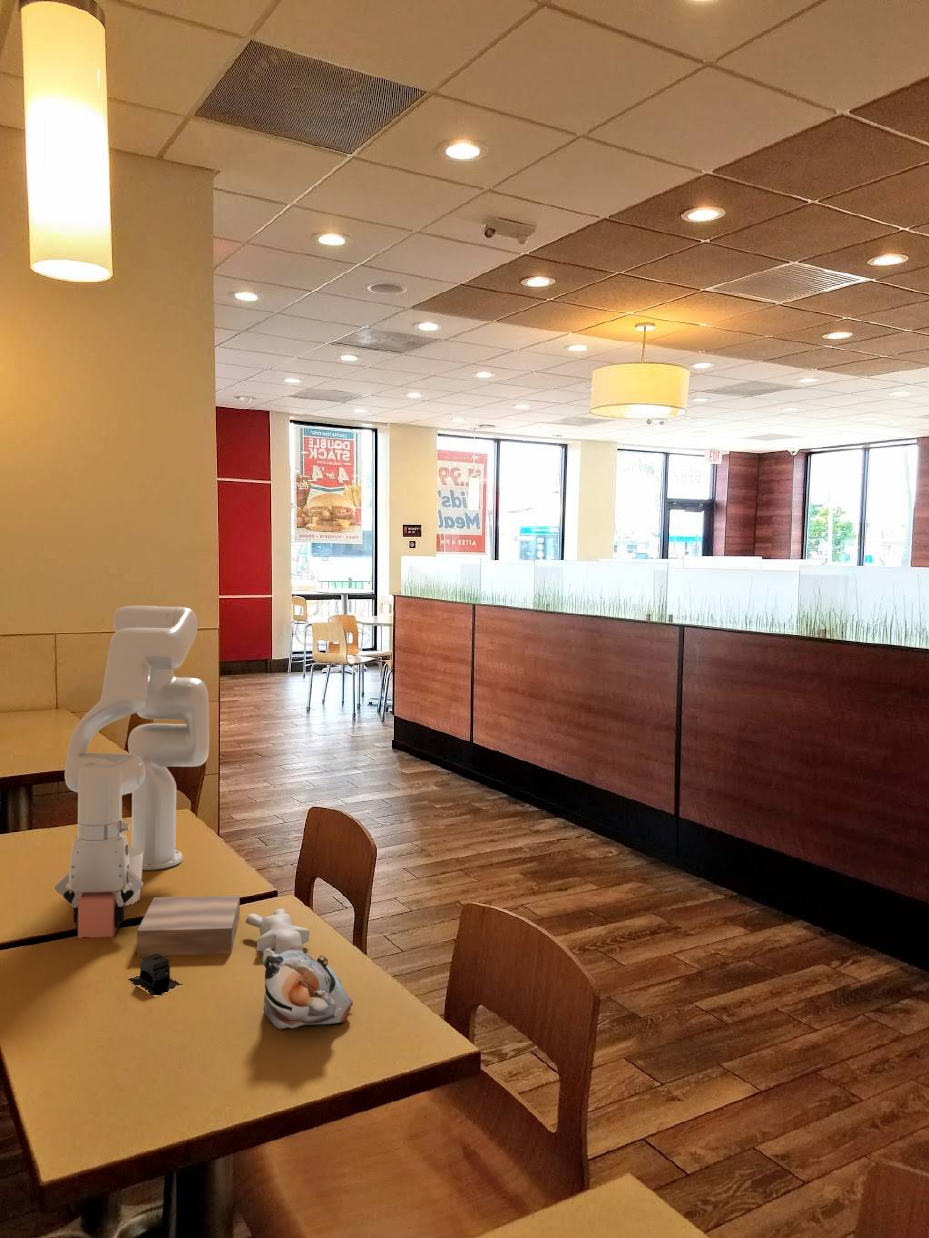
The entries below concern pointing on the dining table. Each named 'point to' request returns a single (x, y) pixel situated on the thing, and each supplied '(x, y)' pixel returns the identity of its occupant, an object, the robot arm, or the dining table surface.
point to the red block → (96, 914)
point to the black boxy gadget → (155, 975)
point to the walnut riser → (189, 926)
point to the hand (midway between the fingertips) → (99, 924)
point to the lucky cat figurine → (302, 990)
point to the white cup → (135, 871)
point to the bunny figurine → (278, 932)
